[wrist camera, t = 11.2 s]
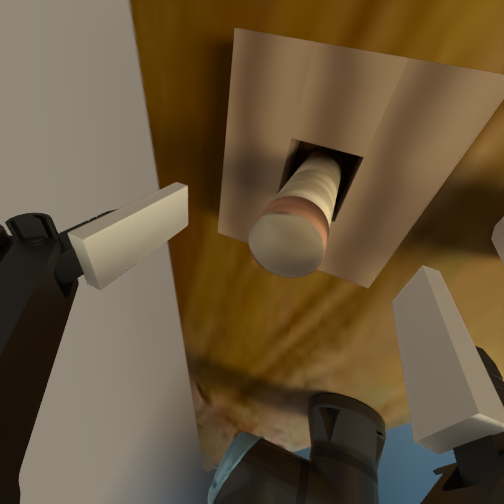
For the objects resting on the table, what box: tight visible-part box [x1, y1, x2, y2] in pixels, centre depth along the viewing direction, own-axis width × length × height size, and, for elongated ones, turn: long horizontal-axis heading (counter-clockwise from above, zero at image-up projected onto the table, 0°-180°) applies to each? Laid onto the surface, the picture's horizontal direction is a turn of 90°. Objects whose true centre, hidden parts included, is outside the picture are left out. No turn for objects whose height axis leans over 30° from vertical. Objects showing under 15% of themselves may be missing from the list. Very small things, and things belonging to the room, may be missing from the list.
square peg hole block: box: [218, 28, 504, 288], centre depth 22 cm, size 18×18×5 cm
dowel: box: [248, 148, 343, 278], centre depth 18 cm, size 4×4×16 cm
